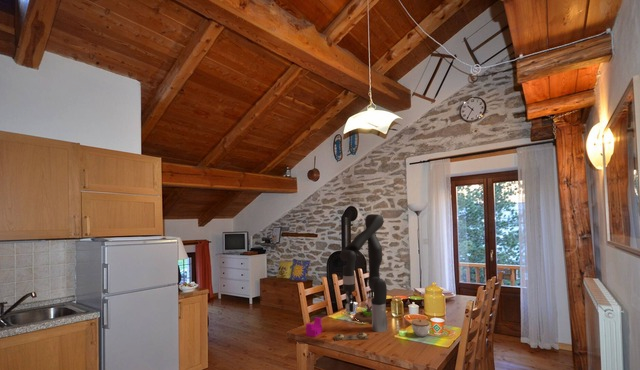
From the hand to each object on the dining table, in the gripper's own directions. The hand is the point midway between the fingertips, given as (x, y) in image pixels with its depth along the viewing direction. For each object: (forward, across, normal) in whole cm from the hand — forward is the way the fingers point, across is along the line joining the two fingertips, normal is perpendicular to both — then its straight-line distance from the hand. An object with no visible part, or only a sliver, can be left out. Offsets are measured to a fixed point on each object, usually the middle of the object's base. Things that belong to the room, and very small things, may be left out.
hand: (350, 309), depth 217 cm
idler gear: (+1, -2, 0) cm, 2 cm away
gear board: (+18, 0, 0) cm, 18 cm away
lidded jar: (+18, 0, -44) cm, 47 cm away
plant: (+19, +36, -18) cm, 45 cm away
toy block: (+18, +14, +21) cm, 31 cm away
